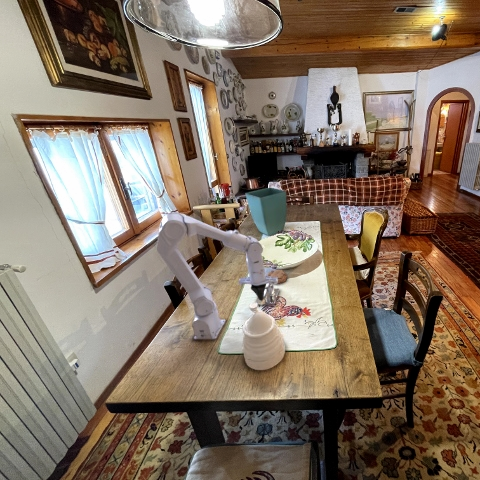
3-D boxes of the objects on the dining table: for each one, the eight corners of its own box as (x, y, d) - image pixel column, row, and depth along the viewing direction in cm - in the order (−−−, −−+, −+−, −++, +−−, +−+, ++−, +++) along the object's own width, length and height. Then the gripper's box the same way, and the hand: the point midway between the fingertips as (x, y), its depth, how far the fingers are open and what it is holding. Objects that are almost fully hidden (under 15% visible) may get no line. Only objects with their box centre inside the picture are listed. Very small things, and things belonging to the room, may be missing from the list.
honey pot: (237, 353, 82) (226, 309, 75) (270, 332, 90) (263, 290, 83) (258, 378, 74) (248, 331, 66) (293, 351, 82) (287, 307, 74)
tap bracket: (274, 305, 104) (272, 290, 101) (255, 305, 104) (252, 290, 101) (279, 290, 113) (277, 276, 110) (261, 290, 114) (259, 277, 111)
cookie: (277, 286, 116) (276, 281, 115) (262, 280, 122) (261, 274, 121) (292, 277, 123) (291, 271, 122) (277, 270, 129) (276, 265, 128)
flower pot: (266, 239, 166) (260, 197, 155) (251, 232, 180) (244, 193, 168) (290, 230, 178) (286, 191, 167) (275, 224, 192) (270, 187, 180)
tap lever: (265, 306, 99) (263, 301, 98) (258, 306, 100) (257, 301, 98) (270, 286, 108) (269, 282, 107) (264, 286, 108) (263, 282, 107)
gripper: (277, 263, 97) (281, 292, 103) (240, 264, 98) (246, 292, 104) (273, 273, 91) (278, 303, 96) (234, 273, 92) (241, 304, 97)
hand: (261, 298), depth 99 cm, fingers closed, pressing on tap lever
